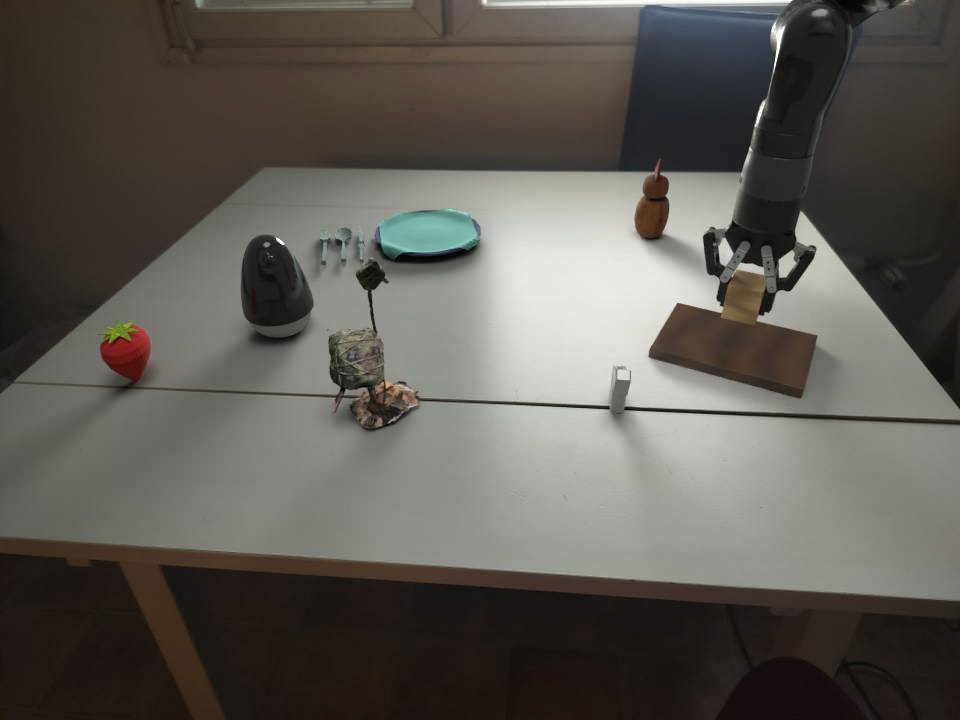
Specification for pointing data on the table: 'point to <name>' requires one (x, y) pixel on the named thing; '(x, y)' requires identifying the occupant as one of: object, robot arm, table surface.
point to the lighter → (619, 388)
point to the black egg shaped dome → (274, 288)
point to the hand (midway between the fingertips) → (742, 307)
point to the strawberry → (126, 350)
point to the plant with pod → (367, 364)
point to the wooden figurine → (653, 205)
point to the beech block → (744, 297)
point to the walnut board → (736, 349)
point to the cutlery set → (416, 234)
